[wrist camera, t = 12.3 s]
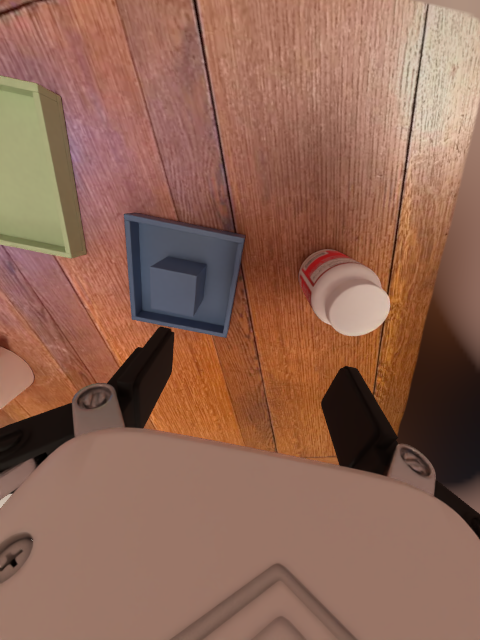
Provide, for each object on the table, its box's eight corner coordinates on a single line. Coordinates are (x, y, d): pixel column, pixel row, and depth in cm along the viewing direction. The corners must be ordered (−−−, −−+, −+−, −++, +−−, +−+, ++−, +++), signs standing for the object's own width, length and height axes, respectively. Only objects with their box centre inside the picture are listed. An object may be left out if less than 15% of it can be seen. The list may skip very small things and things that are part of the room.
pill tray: (-78, 66, 20) (-119, 49, 18) (61, 96, 21) (36, 83, 18) (-15, 234, 28) (-40, 236, 25) (86, 254, 28) (71, 258, 26)
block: (167, 256, 27) (149, 266, 22) (206, 264, 27) (196, 275, 22) (166, 293, 29) (150, 308, 25) (203, 300, 29) (193, 317, 25)
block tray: (135, 212, 25) (123, 213, 23) (245, 235, 25) (244, 238, 23) (140, 311, 32) (131, 319, 29) (228, 328, 32) (226, 337, 30)
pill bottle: (335, 300, 29) (376, 350, 19) (291, 290, 28) (308, 335, 19) (357, 254, 26) (418, 284, 16) (307, 242, 25) (339, 266, 16)
